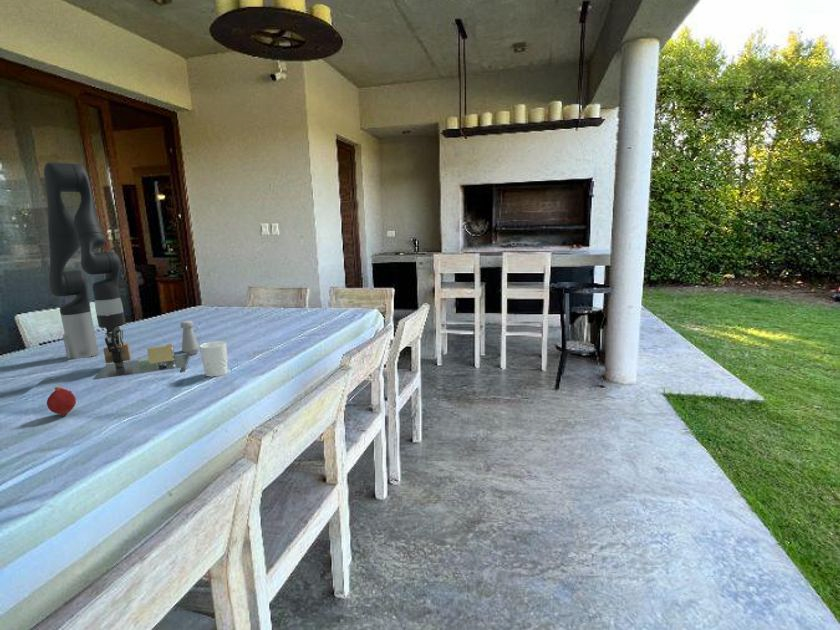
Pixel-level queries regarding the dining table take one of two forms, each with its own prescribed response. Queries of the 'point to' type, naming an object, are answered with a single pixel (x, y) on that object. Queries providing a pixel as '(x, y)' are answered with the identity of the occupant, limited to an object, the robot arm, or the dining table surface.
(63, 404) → the onion
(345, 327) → the dining table surface
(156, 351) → the pale yellow sponge
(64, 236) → the robot arm
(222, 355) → the white cup
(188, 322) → the salt shaker
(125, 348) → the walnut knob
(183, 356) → the level plate
